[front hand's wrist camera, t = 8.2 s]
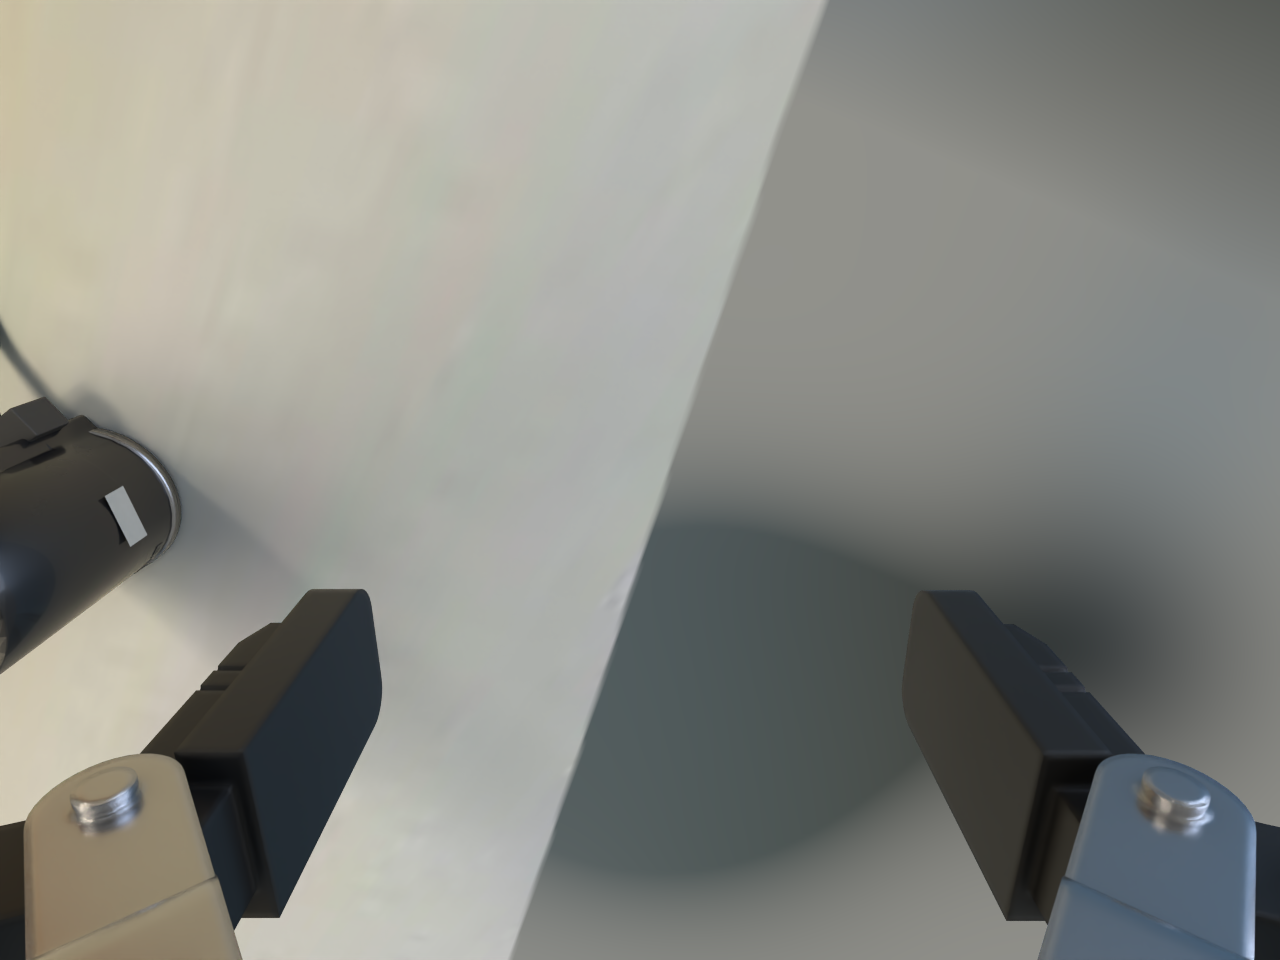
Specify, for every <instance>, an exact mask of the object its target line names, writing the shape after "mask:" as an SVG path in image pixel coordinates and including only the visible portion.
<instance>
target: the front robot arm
mask: <svg viewBox="0 0 1280 960" xmlns="http://www.w3.org/2000/svg"><path fill="white" fill-rule="evenodd" d="M180 521H181V506H180V500H179V496H178V493H177V490H176V487H175V485H174V483H173V481H172V479H171V477H170V476H169V474H168V472H167V471H166V470H165V468H164V467H163V466H162V464H161V463H160V462H159V461H158V460H157V459H156V458H155V457H154V456H153V455H152V454H151V453H150V452H149V451H147V450H146V449H145V448H144V447H142V446H141V445H139V444H138V443H136V442H134V441H133V440H131V439H129V438H127V437H125V436H123V435H121V434H118V433H115V432H112V431H109V430H105V429H101V428H97V427H96V426H94V425H93V424H92V423H91V422H90V421H89V420H88V419H87V418H86V417H85V416H83V415H80V416H77V417H75V418H72V419H69V420H67V419H66V418H65V417H64V416H63V415H62V414H61V413H60V412H59V411H58V410H57V408H56V407H55V406H54V405H53V404H52V403H51V402H50V401H49V400H48V399H47V398H46V397H42V398H39V399H37V400H34V401H31V402H28V403H25V404H22V405H19V406H16V407H13V408H10V409H9V410H8V411H7V412H5V413H4V414H3V415H2V416H1V414H0V674H1V673H3V672H4V671H5V670H7V669H8V668H9V667H11V666H12V665H13V664H15V663H16V662H17V661H19V660H20V659H21V658H23V657H24V656H25V655H27V654H28V653H29V652H31V651H32V650H33V649H35V648H36V647H37V646H39V645H40V644H41V643H43V642H44V641H45V640H47V639H48V638H49V637H51V636H52V635H53V634H55V633H56V632H57V631H59V630H60V629H61V628H63V627H64V626H65V625H67V624H68V623H69V622H71V621H72V620H73V619H75V618H76V617H77V616H78V615H80V614H81V613H82V612H84V611H85V610H86V609H88V608H89V607H90V606H92V605H93V604H94V603H96V602H97V601H98V600H100V599H101V598H102V597H104V596H105V595H106V594H108V593H109V592H110V591H112V590H113V589H114V588H116V587H117V586H118V585H120V584H121V583H122V582H124V581H125V580H126V579H127V578H129V577H130V576H131V575H133V574H135V573H136V572H138V571H139V570H141V569H142V568H143V567H145V566H146V565H148V564H150V563H151V562H153V561H154V560H155V559H157V558H158V557H159V556H161V555H162V554H163V553H164V552H165V551H166V550H167V549H168V548H169V547H170V546H171V544H172V543H173V541H174V540H175V538H176V536H177V533H178V530H179V527H180ZM381 699H382V679H381V671H380V664H379V657H378V649H377V642H376V635H375V628H374V621H373V613H372V606H371V601H370V598H369V595H368V594H367V592H366V591H365V590H363V589H311V590H309V591H308V592H307V593H306V594H305V595H304V596H303V598H302V599H301V600H300V601H299V602H298V604H297V605H296V606H295V607H294V608H293V610H292V611H291V612H290V613H289V614H288V616H287V617H286V618H285V619H284V620H283V622H282V623H270V624H268V625H267V626H265V627H263V628H262V629H260V630H259V631H257V632H255V633H254V634H252V635H250V636H249V637H247V638H246V639H244V640H242V641H241V642H239V643H238V644H237V645H236V646H235V647H234V649H233V650H232V651H231V652H230V653H229V654H228V655H227V656H226V658H225V659H224V660H223V661H222V662H221V663H220V664H219V665H218V670H217V671H213V672H212V673H211V674H210V676H209V677H208V678H207V679H206V680H205V681H204V682H203V683H202V685H201V689H200V691H195V692H194V694H193V695H192V696H191V697H190V698H189V699H188V700H187V701H186V703H185V704H184V705H183V706H182V707H181V708H180V709H179V710H178V712H177V713H176V714H175V715H174V716H173V717H172V718H171V719H170V720H169V722H168V723H167V724H166V725H165V726H164V727H163V728H162V729H161V731H160V732H159V733H158V734H157V735H156V736H155V737H154V738H153V740H152V741H151V742H150V743H149V744H148V745H147V746H146V747H145V749H144V750H143V751H142V752H141V753H140V754H135V755H128V756H123V757H119V758H114V759H111V760H108V761H105V762H102V763H99V764H97V765H94V766H91V767H89V768H87V769H85V770H83V771H81V772H79V773H77V774H75V775H73V776H71V777H70V778H68V779H66V780H64V781H63V782H62V783H60V784H59V785H57V786H56V787H54V788H53V789H52V790H51V791H49V792H48V793H47V794H46V795H45V796H44V797H42V798H41V800H40V801H39V802H38V803H37V804H36V805H35V806H34V807H33V809H32V810H31V812H30V813H29V815H28V817H27V819H26V821H21V822H17V823H12V824H8V825H3V826H0V960H242V956H241V953H240V950H239V946H238V943H237V940H236V936H235V933H234V930H235V928H236V926H237V924H238V923H239V921H240V919H241V918H280V916H281V914H282V912H283V910H284V908H285V906H286V904H287V902H288V900H289V898H290V896H291V894H292V892H293V890H294V888H295V886H296V884H297V882H298V880H299V877H300V875H301V873H302V871H303V869H304V867H305V865H306V863H307V861H308V859H309V857H310V855H311V853H312V851H313V849H314V847H315V845H316V843H317V841H318V839H319V837H320V835H321V833H322V831H323V829H324V827H325V825H326V823H327V821H328V819H329V817H330V815H331V813H332V811H333V809H334V807H335V805H336V803H337V801H338V799H339V797H340V795H341V793H342V791H343V789H344V787H345V785H346V783H347V781H348V779H349V777H350V775H351V773H352V771H353V769H354V767H355V765H356V763H357V761H358V759H359V757H360V755H361V753H362V751H363V749H364V747H365V745H366V743H367V741H368V739H369V737H370V735H371V733H372V730H373V728H374V726H375V724H376V722H377V719H378V715H379V712H380V706H381ZM902 701H903V708H904V713H905V717H906V720H907V723H908V726H909V728H910V730H911V732H912V734H913V736H914V738H915V740H916V742H917V744H918V746H919V748H920V750H921V752H922V754H923V756H924V758H925V760H926V762H927V764H928V766H929V768H930V770H931V772H932V774H933V776H934V778H935V780H936V782H937V784H938V786H939V788H940V790H941V792H942V793H943V796H944V798H945V799H946V802H947V804H948V805H949V808H950V809H951V811H952V813H953V815H954V817H955V819H956V821H957V823H958V825H959V827H960V829H961V831H962V833H963V835H964V837H965V839H966V841H967V843H968V845H969V847H970V849H971V851H972V853H973V855H974V857H975V859H976V861H977V863H978V865H979V867H980V869H981V871H982V873H983V875H984V877H985V879H986V881H987V883H988V885H989V887H990V889H991V891H992V893H993V895H994V897H995V899H996V901H997V903H998V905H999V907H1000V909H1001V911H1002V913H1003V915H1004V917H1005V919H1006V921H1046V923H1047V925H1048V926H1047V930H1046V933H1045V936H1044V940H1043V943H1042V946H1041V950H1040V953H1039V956H1038V960H1280V827H1276V826H1271V825H1267V824H1263V823H1259V822H1255V821H1254V819H1253V817H1252V815H1251V813H1250V812H1249V810H1248V809H1247V807H1246V806H1245V805H1244V804H1243V803H1242V802H1241V801H1240V800H1239V799H1238V797H1236V796H1235V795H1234V794H1233V793H1232V792H1231V791H1229V790H1228V789H1227V788H1226V787H1224V786H1223V785H1221V784H1220V783H1218V782H1217V781H1215V780H1214V779H1212V778H1210V777H1209V776H1207V775H1205V774H1203V773H1201V772H1199V771H1197V770H1195V769H1193V768H1191V767H1189V766H1186V765H1183V764H1181V763H1178V762H1175V761H1172V760H1169V759H1166V758H1161V757H1157V756H1152V755H1145V754H1144V752H1143V751H1142V750H1141V749H1140V748H1139V747H1138V746H1137V745H1136V744H1135V743H1134V741H1133V740H1132V739H1131V738H1130V737H1129V736H1128V735H1127V734H1126V733H1125V731H1124V730H1123V729H1122V728H1121V727H1120V726H1119V725H1118V724H1117V722H1116V721H1115V720H1114V719H1113V718H1112V717H1111V716H1110V715H1109V714H1108V712H1107V711H1106V710H1105V709H1104V708H1103V707H1102V706H1101V705H1100V703H1099V702H1098V701H1097V700H1096V699H1095V698H1094V697H1093V696H1092V695H1091V693H1089V692H1085V687H1084V686H1083V685H1082V683H1081V682H1080V681H1079V680H1078V679H1077V678H1076V677H1075V676H1074V675H1073V673H1072V672H1068V671H1067V667H1066V666H1065V665H1064V663H1063V662H1062V661H1061V660H1060V659H1059V658H1058V657H1057V656H1056V655H1055V653H1054V652H1053V651H1052V650H1051V649H1050V648H1049V647H1048V646H1047V644H1045V643H1043V642H1042V641H1040V640H1039V639H1037V638H1035V637H1034V636H1032V635H1030V634H1029V633H1027V632H1026V631H1024V630H1022V629H1021V628H1019V627H1017V626H1016V625H1014V624H1003V623H1002V622H1001V621H1000V620H999V618H998V617H997V616H996V615H995V614H994V612H993V611H992V610H991V609H990V608H989V606H988V605H987V604H986V603H985V602H984V600H983V599H982V598H981V597H980V596H979V595H978V594H977V593H976V592H975V591H971V590H922V591H920V592H918V594H917V595H916V597H915V600H914V603H913V608H912V615H911V622H910V630H909V637H908V644H907V651H906V658H905V665H904V672H903V680H902Z"/></svg>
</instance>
